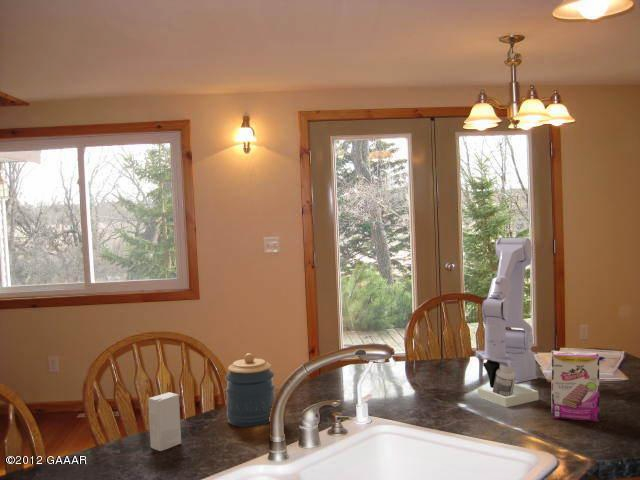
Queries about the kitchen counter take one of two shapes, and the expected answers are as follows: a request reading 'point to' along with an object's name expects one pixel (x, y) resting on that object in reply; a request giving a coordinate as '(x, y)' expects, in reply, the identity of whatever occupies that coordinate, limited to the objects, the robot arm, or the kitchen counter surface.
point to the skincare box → (164, 421)
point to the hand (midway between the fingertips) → (495, 387)
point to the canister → (249, 392)
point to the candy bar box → (575, 385)
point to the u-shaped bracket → (521, 396)
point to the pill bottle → (504, 380)
